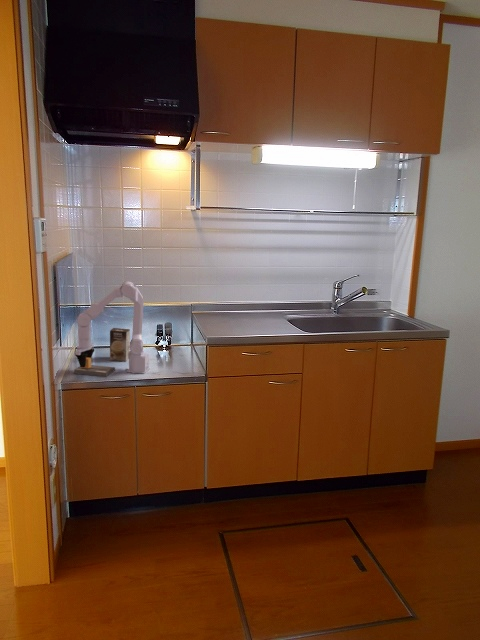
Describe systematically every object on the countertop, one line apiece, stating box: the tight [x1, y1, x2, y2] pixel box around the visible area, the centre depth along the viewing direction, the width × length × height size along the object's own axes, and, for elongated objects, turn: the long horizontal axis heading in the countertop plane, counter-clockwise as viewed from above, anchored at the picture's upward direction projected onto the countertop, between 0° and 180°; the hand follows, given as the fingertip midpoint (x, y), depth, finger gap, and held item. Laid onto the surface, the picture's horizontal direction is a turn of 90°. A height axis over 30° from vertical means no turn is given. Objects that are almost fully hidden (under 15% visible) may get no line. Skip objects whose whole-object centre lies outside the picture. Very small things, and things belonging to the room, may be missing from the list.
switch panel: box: [74, 365, 114, 378], centre depth 243 cm, size 16×8×2 cm, turn 80°
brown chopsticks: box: [91, 364, 116, 371], centre depth 249 cm, size 16×2×1 cm, turn 80°
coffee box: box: [109, 327, 131, 362], centre depth 264 cm, size 9×6×16 cm
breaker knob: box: [81, 357, 92, 369], centre depth 243 cm, size 4×3×4 cm
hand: (85, 365), depth 243 cm, fingers open, 5 cm apart
